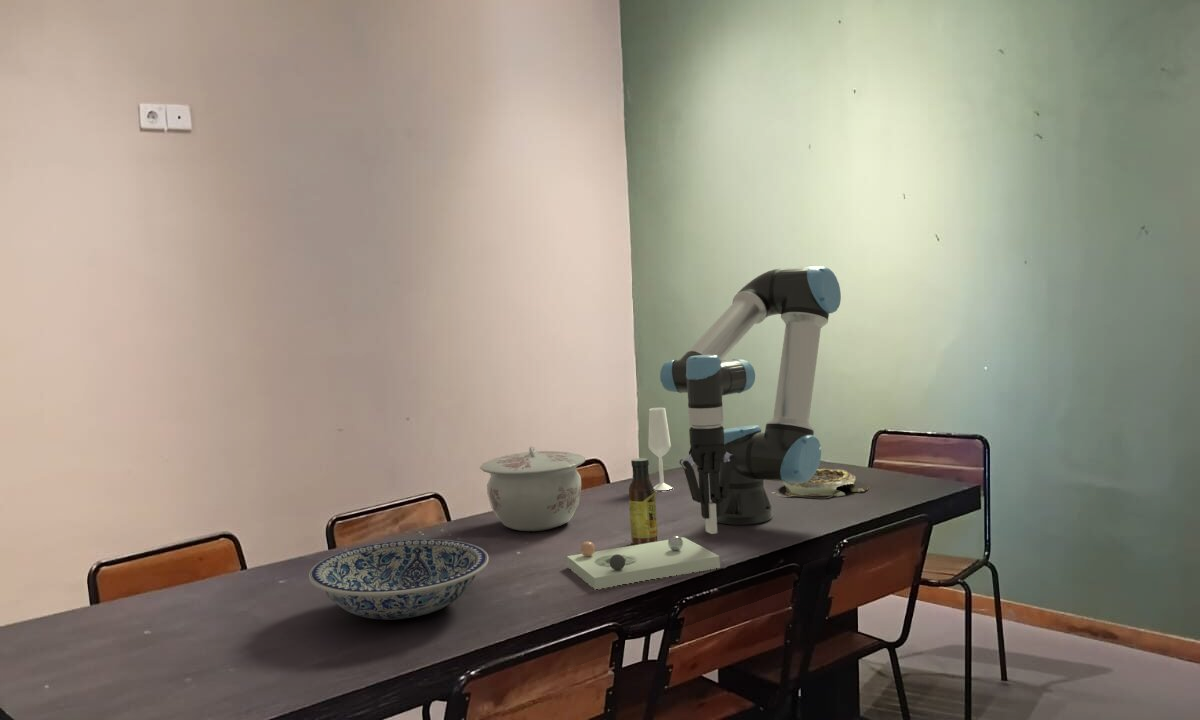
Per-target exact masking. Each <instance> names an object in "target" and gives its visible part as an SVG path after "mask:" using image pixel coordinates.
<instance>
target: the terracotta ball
mask: <svg viewBox="0 0 1200 720" xmlns="http://www.w3.org/2000/svg"><path fill="white" fill-rule="evenodd" d="M594 552H596V547H595V544H594V543H593V542H591V541H587V540H586V541H584V542H582V544H581V545H580V554H583V555H584V556H591V555H593V553H594Z"/></svg>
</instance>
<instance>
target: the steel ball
mask: <svg viewBox="0 0 1200 720" xmlns="http://www.w3.org/2000/svg"><path fill="white" fill-rule="evenodd" d="M681 538H682V537H681V536H678V535H672V536H670V538H669V539H668V540H669V541H668V546H669V548H670V549H671V550H674V551H678V550H680V549H681V548H682V546H683V541H682V539H681Z"/></svg>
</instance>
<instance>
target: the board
mask: <svg viewBox="0 0 1200 720" xmlns="http://www.w3.org/2000/svg"><path fill="white" fill-rule="evenodd" d="M680 538H681V539H682V541H683V546H682V548H681V549H680V550H678V551H674V550H671V549H670V548H669V546H668V541H669V539H664V540H657V542H651V543H645V544H639V545H635V544H632V545H628V546H623V547H616V548H609V549H603V550H597V551H596V550H595V552H594V553H593V555H591V556H584V555H583V554H582V553H579V554H573V555H567V556H566V558H567V560H566V561H567V568H568V569H569V570H570V569H571V570H570V571H572V572H573V573H574V574H575V573H576V574H577V576H578V577H579V579H581V578H582V579H581V580H582V581H584V583H586V584H587V583H588V584H587V585H588V586H590V587H591V588H592V587H593V588H594V591H597V590H596V589H598V590H603V589H602V588H604V589H608V588H607V587H610V588H614V587H613V586H615V587H618V586H617V585H621V586H623V585H622V584H627V585H630V584H629V583H632V584H635V583H634V582H638V583H640V582H639V581H643V582H646V581H645V580H649V581H651V580H650V579H655V580H657V579H656V578H660V579H664V578H663V577H666V578H670V577H669V576H672V577H676V575H677V576H681V575H682V574H683V575H687V574H693V573H692V572H694V573H699V571H700V572H703V571H704V572H705V571H710V569H711V570H716V568H717V569H721V558H720V555H718V554H717V553H715V552H712V551H710V550H709V549H707V548H705V547H703V546H701V545H699V544H697V543H695V542H693V541H691V540H690V539H688V538H686V537H683V536H682V537H680ZM616 554H619V555H621V556H623V557H624V559H625V566H624V567H623V568H622V569H621V570H614V569H613V568H612V567H611V566H610V559H611V557H612V556H613V555H616ZM576 574H575V575H576ZM593 588H592V589H593Z"/></svg>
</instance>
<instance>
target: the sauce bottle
mask: <svg viewBox="0 0 1200 720" xmlns="http://www.w3.org/2000/svg"><path fill="white" fill-rule="evenodd" d="M649 462H650V461H649V459H648V458H646V457H645V458H644V457H641V458H640V457H639V458H632V459H631V467H632V481H631V483H629V484H630V485H629V487H628V494H629V496H628V497H629V498H628V503H629V505H628V506H629V522H630V534H631V535H630V536H631V543H632V545H639V544H645V543H651V542H657V541H658V517H657V516H658V515H657V503H656V499H657V497H656V491H655V490H654V486H653V484H652V481H651V479H650V474H649V465H650V463H649Z"/></svg>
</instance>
